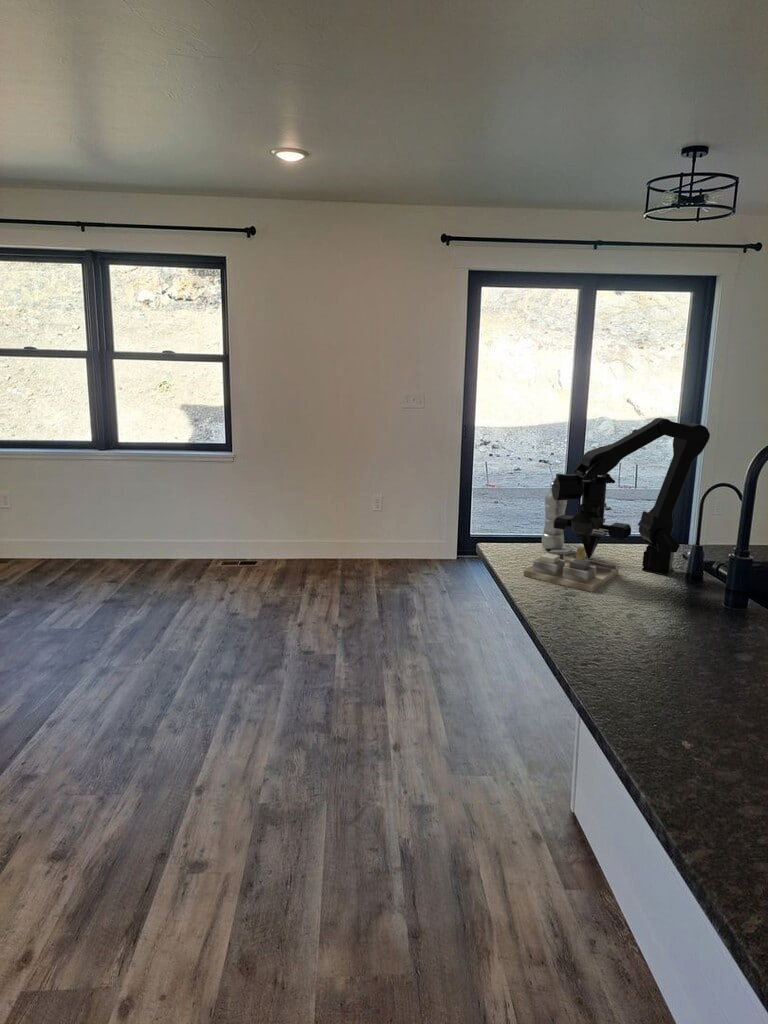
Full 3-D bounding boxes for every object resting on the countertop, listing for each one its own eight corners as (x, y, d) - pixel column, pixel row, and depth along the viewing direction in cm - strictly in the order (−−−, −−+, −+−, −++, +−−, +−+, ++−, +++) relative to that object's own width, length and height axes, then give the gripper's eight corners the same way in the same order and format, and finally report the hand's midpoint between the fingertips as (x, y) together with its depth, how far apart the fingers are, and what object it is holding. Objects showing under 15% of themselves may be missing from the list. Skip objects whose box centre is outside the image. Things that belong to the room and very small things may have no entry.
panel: (618, 573, 168) (619, 558, 167) (591, 592, 154) (593, 575, 153) (553, 560, 179) (554, 545, 178) (523, 575, 165) (524, 560, 164)
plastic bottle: (540, 551, 187) (545, 483, 182) (541, 545, 193) (546, 479, 189) (563, 553, 185) (568, 485, 181) (563, 547, 191) (569, 481, 187)
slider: (587, 563, 170) (588, 547, 169) (584, 564, 169) (585, 549, 168) (576, 560, 172) (577, 545, 171) (573, 562, 171) (574, 547, 170)
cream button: (559, 563, 164) (559, 555, 164) (553, 566, 162) (553, 558, 161) (546, 560, 167) (546, 552, 166) (539, 563, 164) (540, 555, 163)
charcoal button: (589, 569, 160) (590, 561, 159) (583, 573, 157) (584, 565, 156) (575, 566, 162) (576, 559, 161) (569, 570, 159) (570, 562, 159)
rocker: (572, 552, 173) (572, 549, 173) (568, 554, 171) (567, 551, 171) (552, 552, 177) (552, 549, 176) (548, 554, 174) (548, 552, 174)
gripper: (546, 500, 165) (542, 558, 168) (619, 510, 153) (613, 572, 157) (563, 493, 173) (560, 549, 177) (634, 502, 162) (628, 562, 165)
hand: (589, 558), depth 169 cm, fingers closed
